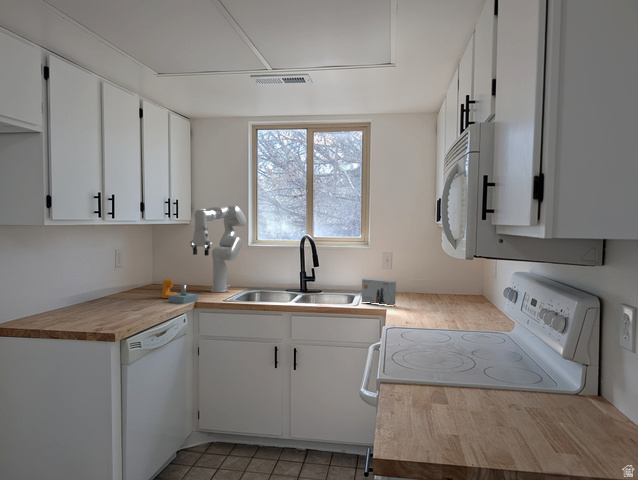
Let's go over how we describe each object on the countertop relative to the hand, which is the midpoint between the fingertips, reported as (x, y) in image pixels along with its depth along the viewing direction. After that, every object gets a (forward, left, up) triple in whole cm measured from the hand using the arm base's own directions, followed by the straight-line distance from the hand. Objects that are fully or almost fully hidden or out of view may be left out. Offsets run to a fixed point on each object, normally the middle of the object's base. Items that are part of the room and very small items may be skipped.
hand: (200, 255), depth 278 cm
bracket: (+13, -13, -28) cm, 33 cm away
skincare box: (-40, +109, -28) cm, 119 cm away
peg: (+18, +3, -27) cm, 33 cm away
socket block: (+18, +3, -27) cm, 33 cm away
